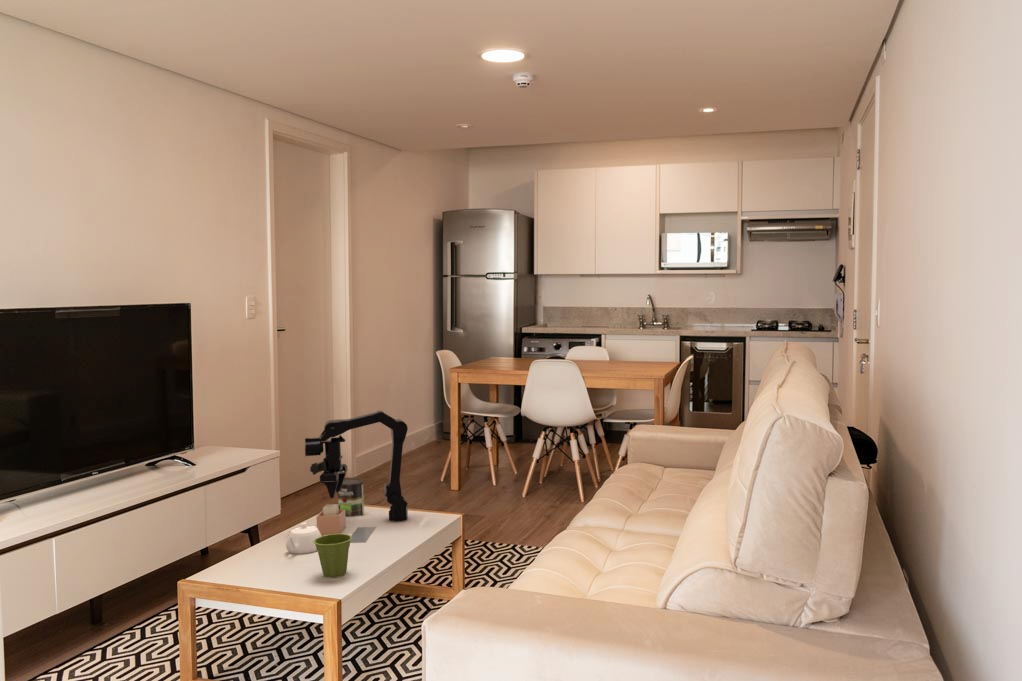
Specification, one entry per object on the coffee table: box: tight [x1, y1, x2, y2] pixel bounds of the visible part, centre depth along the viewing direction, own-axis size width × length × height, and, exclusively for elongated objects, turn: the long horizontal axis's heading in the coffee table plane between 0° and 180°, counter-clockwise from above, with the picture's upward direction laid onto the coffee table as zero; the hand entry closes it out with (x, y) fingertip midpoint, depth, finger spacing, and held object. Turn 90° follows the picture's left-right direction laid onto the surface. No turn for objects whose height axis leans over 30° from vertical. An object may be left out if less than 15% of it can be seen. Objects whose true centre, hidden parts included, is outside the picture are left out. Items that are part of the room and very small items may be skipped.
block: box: [322, 504, 339, 516], centre depth 295 cm, size 4×4×5 cm
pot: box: [316, 509, 347, 536], centre depth 295 cm, size 8×8×8 cm
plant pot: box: [313, 533, 352, 578], centre depth 251 cm, size 12×12×11 cm
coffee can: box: [337, 478, 365, 518], centre depth 320 cm, size 10×10×14 cm
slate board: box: [350, 526, 377, 544], centre depth 290 cm, size 7×20×1 cm, turn 179°
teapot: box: [285, 522, 322, 555], centre depth 275 cm, size 20×12×10 cm, turn 168°
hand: (334, 495), depth 302 cm, fingers open, 9 cm apart
